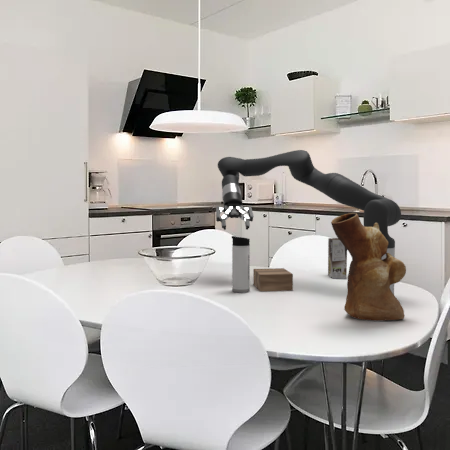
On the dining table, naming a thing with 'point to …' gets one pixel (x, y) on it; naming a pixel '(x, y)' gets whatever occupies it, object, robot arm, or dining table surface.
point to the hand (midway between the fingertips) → (236, 228)
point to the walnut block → (273, 279)
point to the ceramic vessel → (369, 271)
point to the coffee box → (337, 258)
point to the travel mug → (240, 264)
